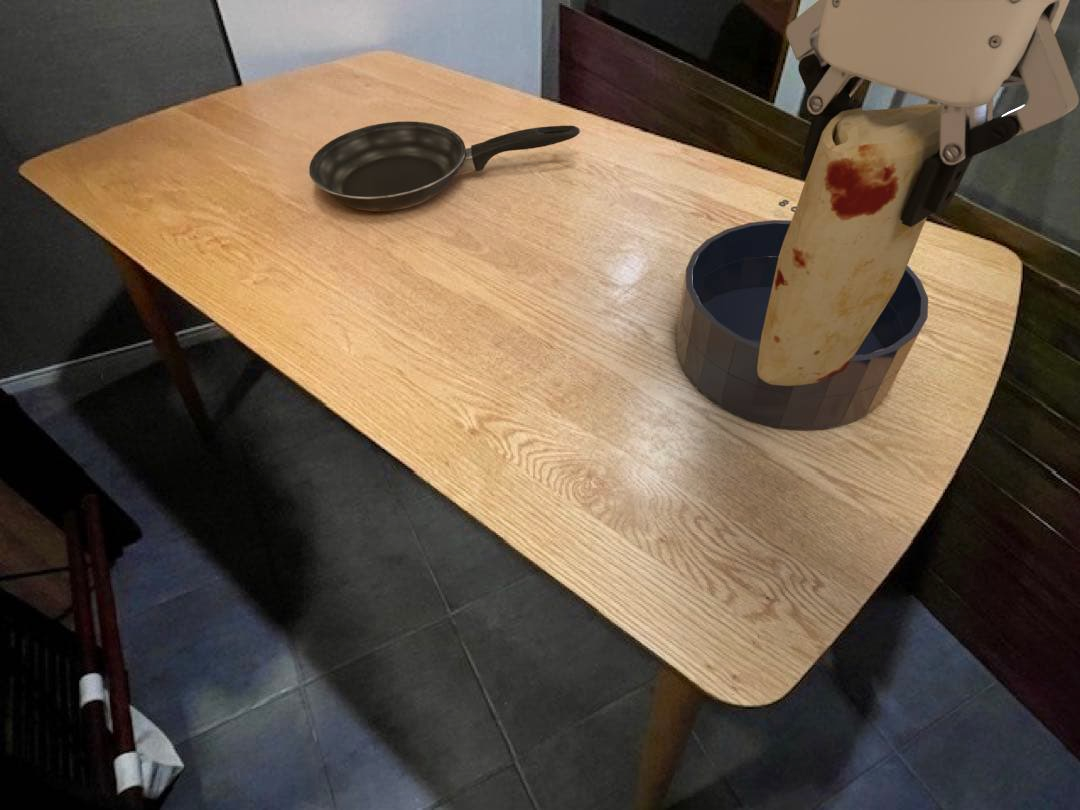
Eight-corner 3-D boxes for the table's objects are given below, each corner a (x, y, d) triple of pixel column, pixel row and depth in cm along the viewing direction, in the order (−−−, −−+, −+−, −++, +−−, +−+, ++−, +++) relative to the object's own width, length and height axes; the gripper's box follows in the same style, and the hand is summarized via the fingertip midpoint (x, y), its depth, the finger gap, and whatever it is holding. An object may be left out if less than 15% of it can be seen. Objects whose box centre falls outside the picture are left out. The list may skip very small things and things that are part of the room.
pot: (936, 360, 73) (976, 290, 66) (799, 468, 64) (828, 401, 57) (766, 265, 87) (784, 198, 79) (633, 342, 78) (639, 275, 70)
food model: (782, 416, 47) (876, 155, 32) (726, 361, 51) (786, 107, 36) (882, 371, 50) (1011, 110, 35) (821, 322, 54) (913, 70, 39)
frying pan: (306, 232, 98) (291, 191, 93) (329, 154, 114) (318, 116, 109) (590, 209, 98) (590, 167, 93) (572, 135, 115) (571, 97, 110)
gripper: (1314, -211, 23) (1042, 230, 36) (876, -224, 32) (789, 129, 46) (1235, -185, 20) (971, 284, 33) (780, -207, 29) (717, 164, 43)
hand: (867, 191), depth 39 cm, fingers closed on food model, 6 cm apart
